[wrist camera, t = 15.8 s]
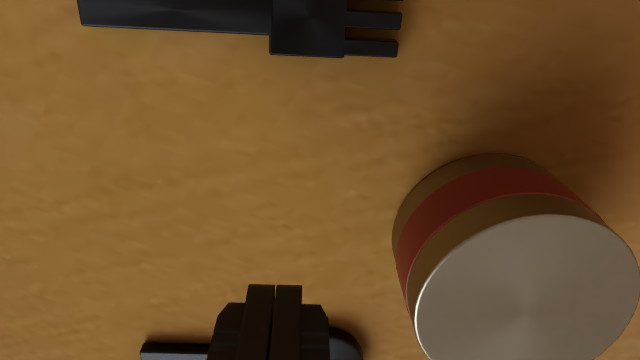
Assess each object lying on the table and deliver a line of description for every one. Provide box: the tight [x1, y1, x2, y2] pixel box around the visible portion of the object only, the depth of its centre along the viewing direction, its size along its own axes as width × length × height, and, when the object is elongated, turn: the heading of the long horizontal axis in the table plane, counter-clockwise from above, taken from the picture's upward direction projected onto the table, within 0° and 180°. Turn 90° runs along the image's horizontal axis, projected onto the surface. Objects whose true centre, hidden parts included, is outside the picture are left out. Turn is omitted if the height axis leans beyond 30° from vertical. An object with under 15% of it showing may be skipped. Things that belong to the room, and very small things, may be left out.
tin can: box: [392, 154, 640, 360], centre depth 16 cm, size 7×7×4 cm
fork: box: [77, 0, 403, 58], centre depth 14 cm, size 10×2×1 cm, turn 87°
